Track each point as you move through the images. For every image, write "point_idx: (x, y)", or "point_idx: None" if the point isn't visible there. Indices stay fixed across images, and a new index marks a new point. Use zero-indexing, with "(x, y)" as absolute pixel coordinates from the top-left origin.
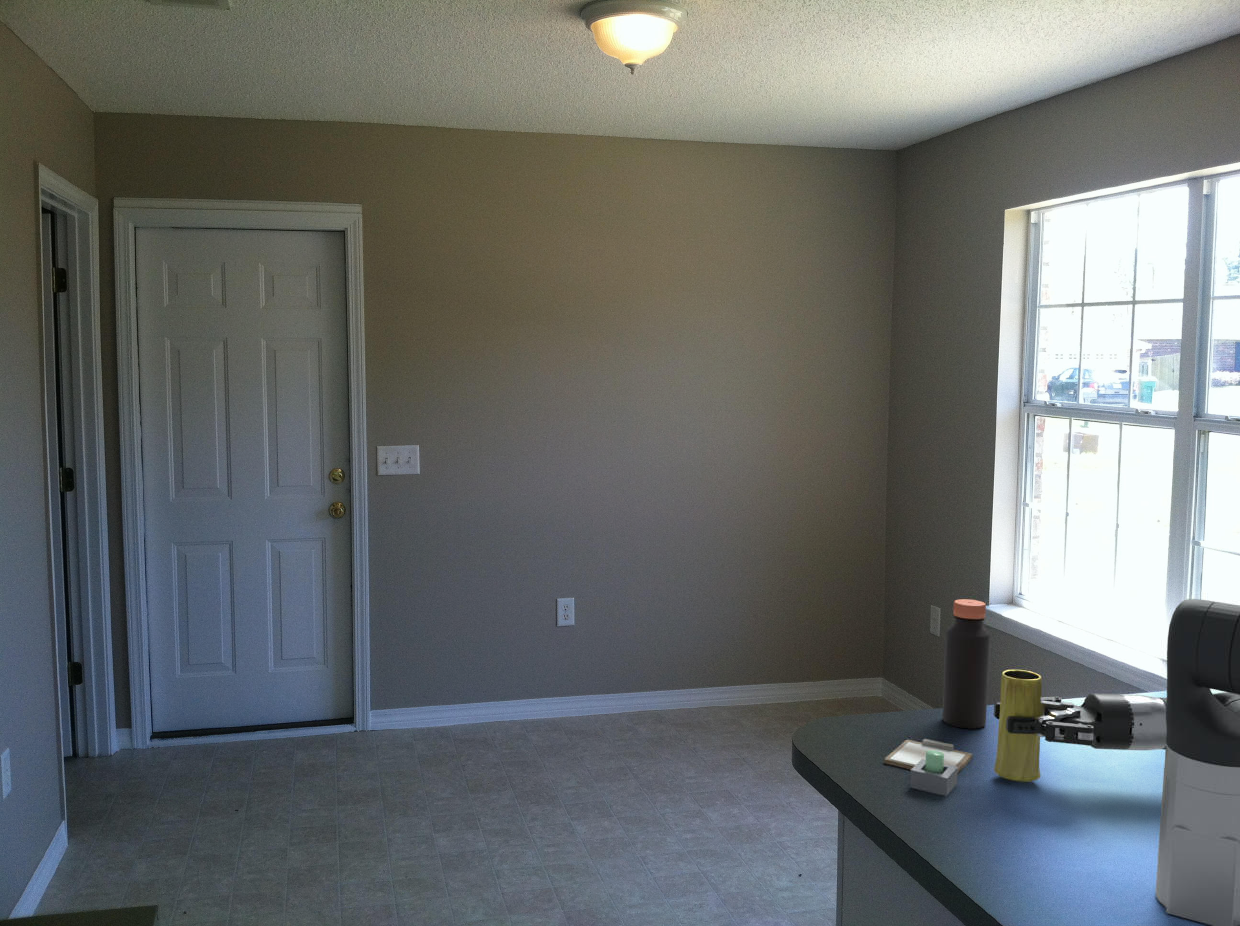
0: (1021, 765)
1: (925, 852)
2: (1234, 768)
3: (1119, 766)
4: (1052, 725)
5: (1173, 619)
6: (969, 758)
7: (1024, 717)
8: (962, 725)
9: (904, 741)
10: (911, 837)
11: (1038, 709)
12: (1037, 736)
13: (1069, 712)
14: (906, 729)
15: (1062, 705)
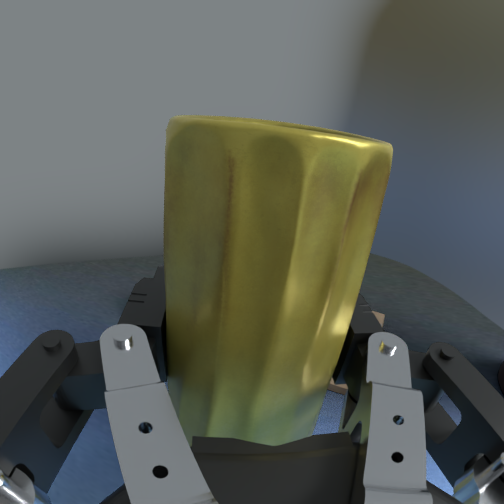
0: None
1: (17, 269)
2: None
3: None
4: (34, 346)
5: None
6: (341, 389)
7: (155, 296)
8: (502, 383)
9: (373, 311)
10: (47, 268)
11: (192, 327)
12: (188, 419)
13: (152, 502)
14: (441, 325)
15: (358, 500)
